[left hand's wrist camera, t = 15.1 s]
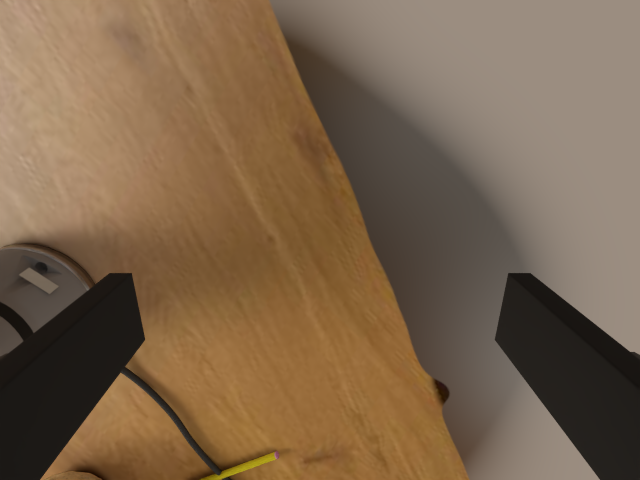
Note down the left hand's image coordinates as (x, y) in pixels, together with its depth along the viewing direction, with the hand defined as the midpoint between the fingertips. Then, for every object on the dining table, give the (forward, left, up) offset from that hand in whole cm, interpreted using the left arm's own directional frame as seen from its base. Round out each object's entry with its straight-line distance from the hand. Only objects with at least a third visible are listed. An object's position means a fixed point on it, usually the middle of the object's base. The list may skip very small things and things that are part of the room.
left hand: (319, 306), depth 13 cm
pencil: (-41, +25, -29) cm, 56 cm away
